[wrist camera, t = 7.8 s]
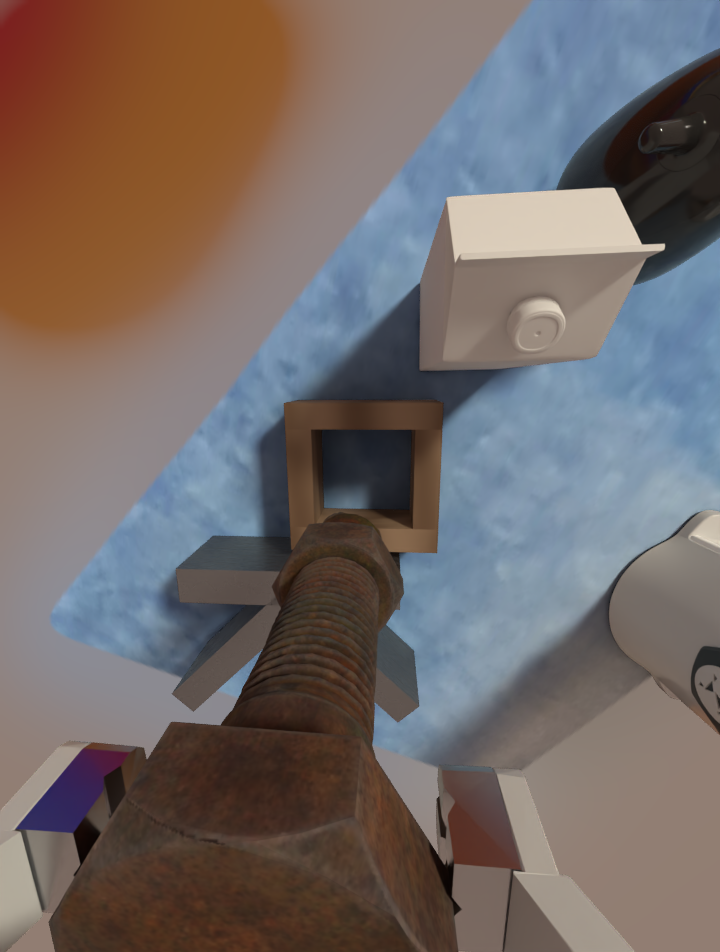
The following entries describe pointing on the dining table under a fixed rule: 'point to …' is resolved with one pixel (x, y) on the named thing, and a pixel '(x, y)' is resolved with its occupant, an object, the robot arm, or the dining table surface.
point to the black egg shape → (662, 164)
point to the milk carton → (526, 278)
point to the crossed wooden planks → (267, 620)
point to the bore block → (419, 416)
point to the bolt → (276, 797)
